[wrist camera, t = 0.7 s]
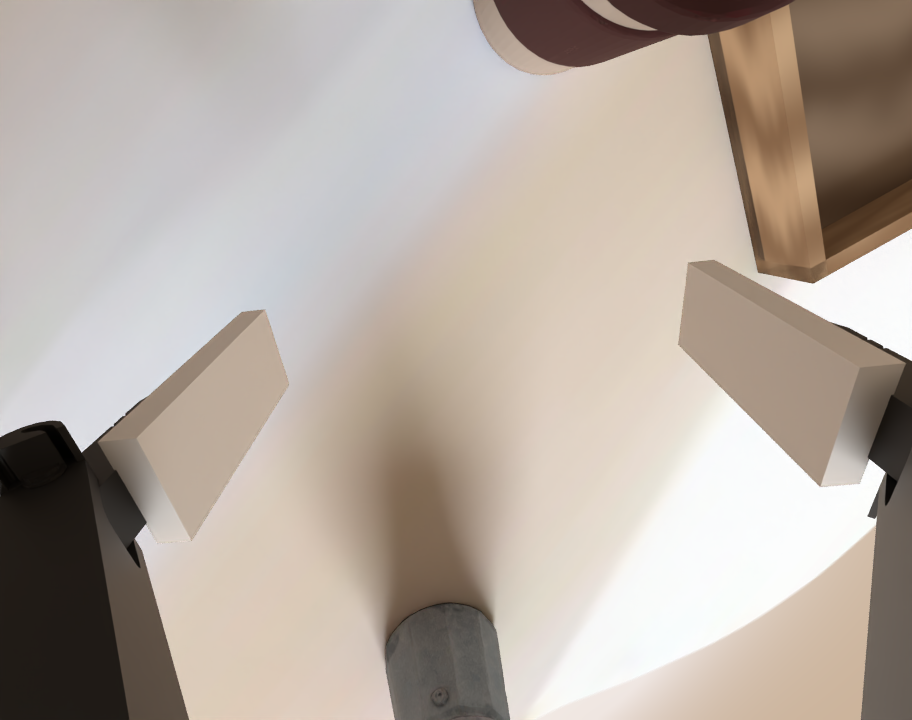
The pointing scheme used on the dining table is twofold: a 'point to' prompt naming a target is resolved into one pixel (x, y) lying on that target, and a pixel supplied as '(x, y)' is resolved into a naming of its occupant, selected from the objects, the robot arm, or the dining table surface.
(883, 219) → the cold frame
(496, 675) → the moka pot
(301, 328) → the dining table surface
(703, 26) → the coffee cup
